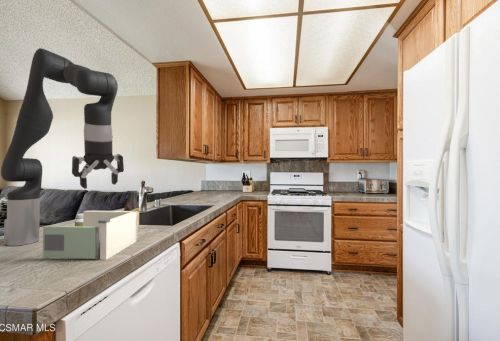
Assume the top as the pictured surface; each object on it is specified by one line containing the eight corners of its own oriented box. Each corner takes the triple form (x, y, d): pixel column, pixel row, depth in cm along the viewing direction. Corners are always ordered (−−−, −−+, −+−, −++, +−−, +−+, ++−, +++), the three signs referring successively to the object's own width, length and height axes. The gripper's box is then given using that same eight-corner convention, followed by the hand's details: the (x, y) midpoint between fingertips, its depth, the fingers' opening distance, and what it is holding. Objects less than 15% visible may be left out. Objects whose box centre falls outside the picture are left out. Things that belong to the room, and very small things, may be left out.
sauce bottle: (132, 237, 101) (133, 191, 101) (119, 236, 102) (120, 190, 102) (142, 233, 107) (142, 190, 107) (130, 232, 108) (130, 189, 108)
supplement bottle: (89, 233, 105) (90, 212, 105) (89, 236, 101) (89, 214, 101) (75, 235, 102) (75, 213, 102) (74, 238, 98) (74, 215, 98)
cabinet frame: (38, 259, 75) (38, 219, 75) (86, 239, 97) (86, 208, 97) (105, 260, 75) (105, 220, 75) (138, 240, 96) (138, 209, 96)
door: (41, 258, 75) (42, 227, 75) (45, 256, 76) (45, 226, 76) (96, 258, 75) (96, 227, 75) (99, 257, 76) (99, 226, 76)
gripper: (118, 135, 81) (118, 179, 86) (67, 135, 71) (70, 185, 75) (127, 140, 77) (126, 186, 81) (74, 140, 66) (77, 193, 71)
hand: (99, 185), depth 78 cm, fingers open, 8 cm apart
